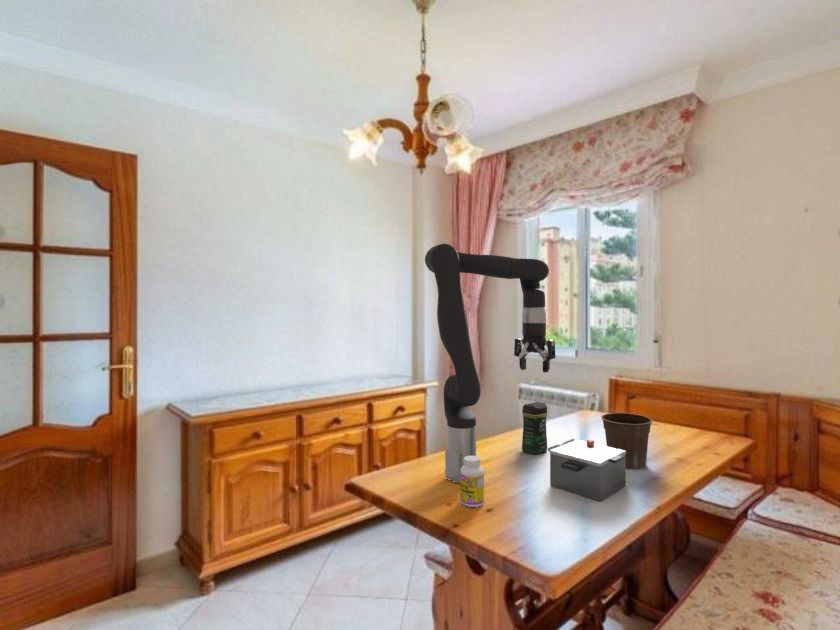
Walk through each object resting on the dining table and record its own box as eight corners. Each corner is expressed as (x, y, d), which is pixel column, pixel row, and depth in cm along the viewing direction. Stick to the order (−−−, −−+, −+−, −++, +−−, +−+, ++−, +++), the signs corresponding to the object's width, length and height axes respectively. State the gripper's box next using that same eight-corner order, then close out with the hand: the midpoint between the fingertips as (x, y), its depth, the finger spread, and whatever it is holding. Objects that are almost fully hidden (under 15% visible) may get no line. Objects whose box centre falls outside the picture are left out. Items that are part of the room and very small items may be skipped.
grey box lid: (606, 468, 128) (606, 459, 128) (545, 452, 143) (545, 444, 143) (631, 455, 139) (631, 447, 139) (573, 441, 154) (573, 434, 154)
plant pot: (622, 474, 152) (622, 425, 151) (591, 458, 167) (591, 414, 167) (663, 469, 156) (663, 421, 156) (629, 454, 171) (629, 411, 171)
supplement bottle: (455, 503, 130) (455, 458, 130) (470, 496, 134) (470, 452, 134) (474, 510, 125) (473, 463, 125) (489, 503, 130) (488, 458, 129)
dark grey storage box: (595, 505, 128) (595, 469, 128) (544, 488, 140) (544, 455, 140) (629, 484, 143) (629, 452, 143) (581, 471, 155) (581, 441, 154)
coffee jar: (536, 456, 170) (536, 406, 170) (518, 451, 176) (518, 403, 176) (551, 450, 177) (551, 402, 176) (533, 446, 183) (533, 399, 182)
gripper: (509, 321, 154) (509, 370, 154) (546, 322, 143) (546, 374, 144) (522, 320, 159) (522, 367, 159) (559, 321, 148) (559, 372, 149)
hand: (534, 370), depth 151 cm, fingers open, 8 cm apart
